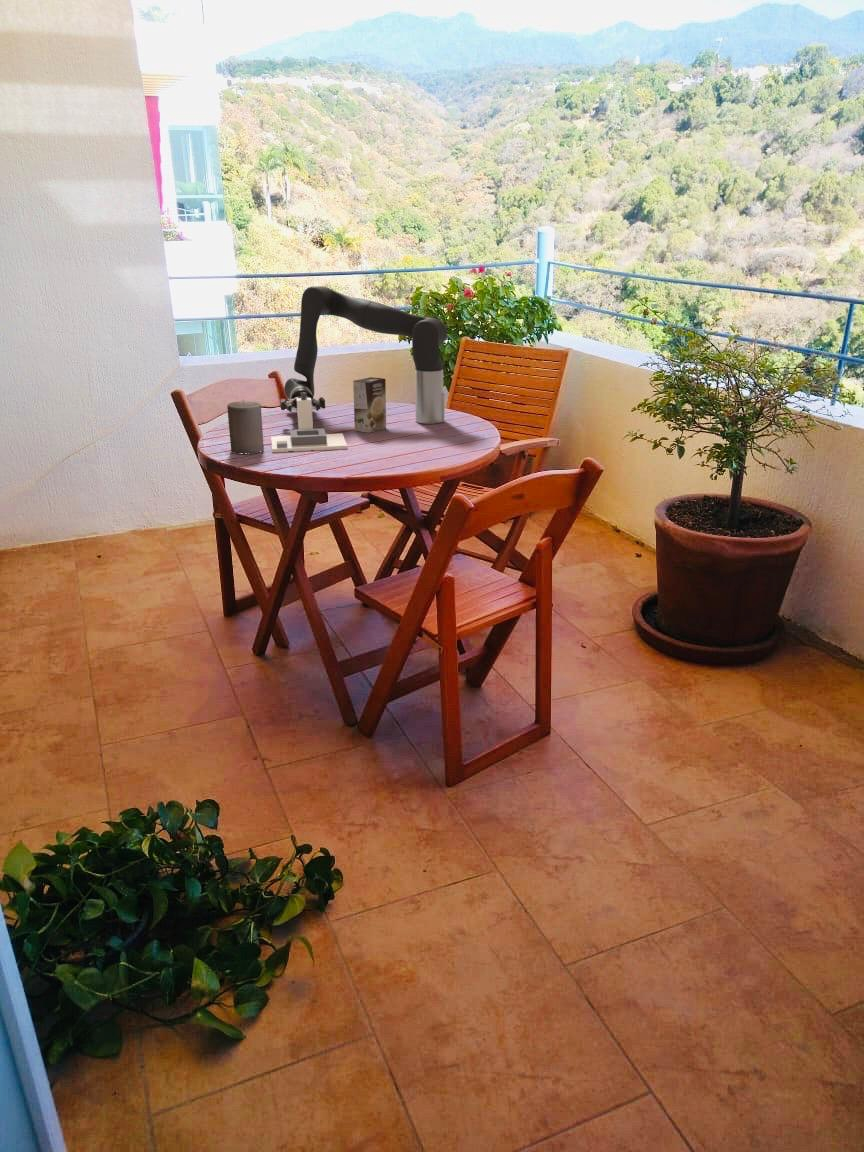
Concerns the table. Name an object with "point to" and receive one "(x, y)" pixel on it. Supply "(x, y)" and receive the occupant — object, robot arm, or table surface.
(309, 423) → the plug
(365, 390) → the coffee box
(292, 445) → the socket dock
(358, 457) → the table surface
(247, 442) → the pillar candle
